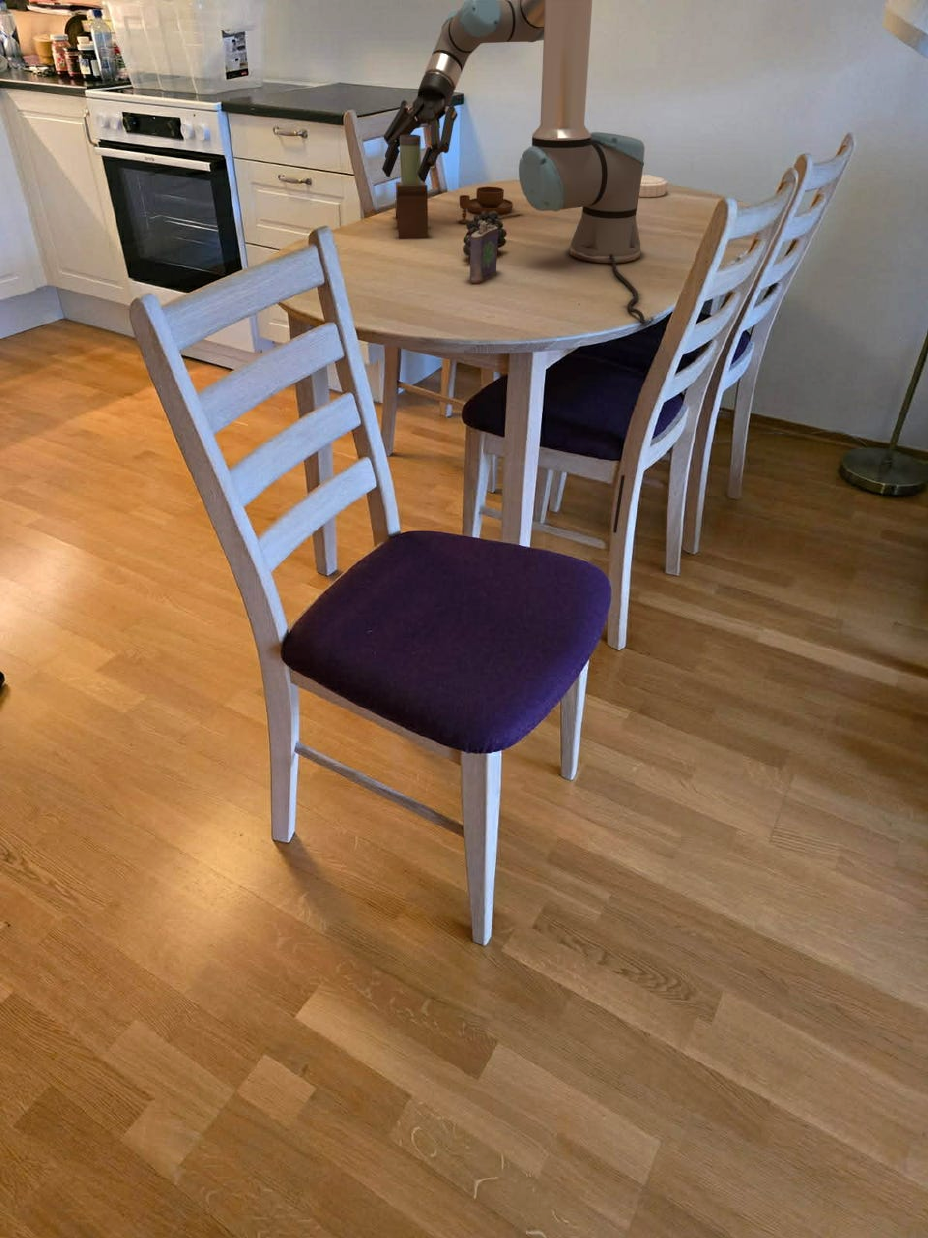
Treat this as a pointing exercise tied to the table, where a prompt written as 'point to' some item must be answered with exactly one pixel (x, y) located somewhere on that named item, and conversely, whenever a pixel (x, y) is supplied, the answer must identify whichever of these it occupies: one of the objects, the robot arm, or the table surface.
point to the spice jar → (410, 159)
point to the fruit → (491, 220)
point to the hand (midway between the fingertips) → (403, 175)
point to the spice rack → (412, 210)
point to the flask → (483, 253)
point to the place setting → (486, 202)
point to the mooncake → (652, 186)
